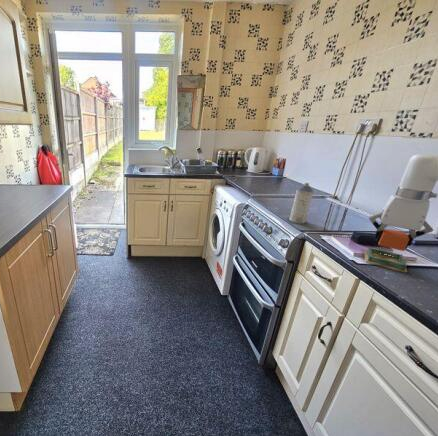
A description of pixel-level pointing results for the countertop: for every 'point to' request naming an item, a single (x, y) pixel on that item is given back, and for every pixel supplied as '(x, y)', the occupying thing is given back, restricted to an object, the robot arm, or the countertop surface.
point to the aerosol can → (301, 204)
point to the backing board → (385, 259)
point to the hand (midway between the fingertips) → (390, 243)
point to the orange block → (394, 239)
